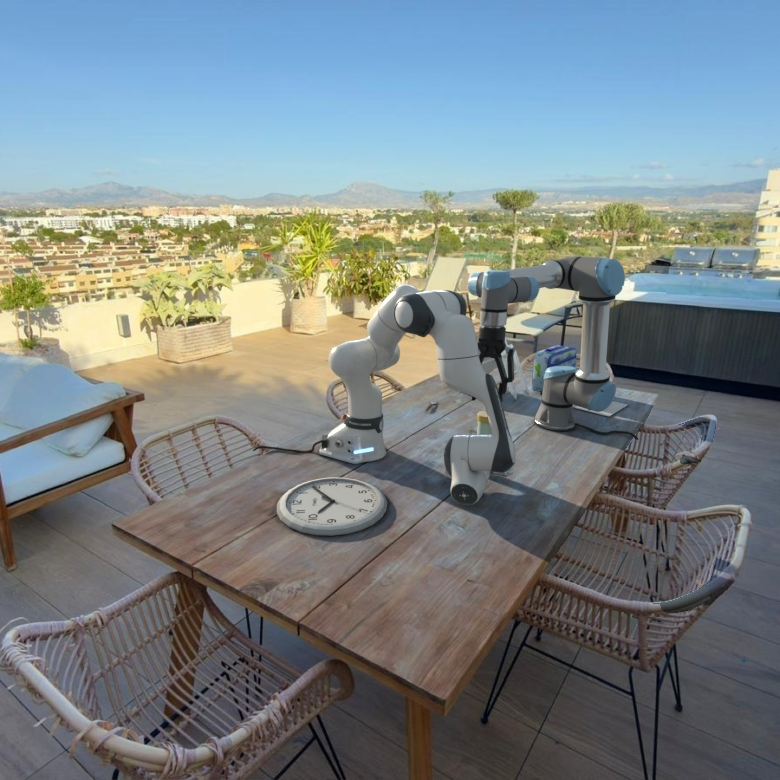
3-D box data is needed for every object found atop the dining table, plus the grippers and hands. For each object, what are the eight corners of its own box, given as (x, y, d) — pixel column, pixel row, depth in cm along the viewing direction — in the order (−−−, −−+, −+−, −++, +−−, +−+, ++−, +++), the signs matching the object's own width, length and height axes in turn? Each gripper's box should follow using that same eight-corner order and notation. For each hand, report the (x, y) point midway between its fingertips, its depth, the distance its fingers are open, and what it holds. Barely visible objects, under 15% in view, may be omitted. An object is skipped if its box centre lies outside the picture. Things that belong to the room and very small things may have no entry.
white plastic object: (461, 429, 252) (437, 405, 227) (444, 352, 274) (420, 323, 250) (535, 404, 240) (518, 377, 215) (510, 326, 262) (492, 293, 237)
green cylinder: (479, 476, 161) (483, 418, 155) (471, 470, 165) (475, 414, 159) (491, 474, 163) (496, 417, 157) (483, 468, 167) (488, 412, 161)
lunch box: (548, 398, 236) (553, 353, 229) (527, 393, 243) (531, 349, 237) (575, 387, 253) (581, 344, 247) (555, 382, 260) (560, 341, 254)
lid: (483, 424, 155) (483, 418, 155) (473, 418, 160) (474, 412, 159) (497, 421, 157) (498, 415, 157) (487, 416, 162) (488, 410, 161)
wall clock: (392, 527, 129) (268, 531, 127) (391, 533, 130) (269, 537, 127) (383, 473, 158) (282, 475, 155) (383, 478, 158) (282, 480, 156)
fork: (422, 411, 216) (422, 407, 215) (433, 400, 230) (433, 396, 230) (428, 412, 215) (429, 407, 215) (438, 401, 230) (439, 396, 229)
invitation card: (608, 416, 214) (573, 407, 224) (608, 416, 214) (573, 408, 224) (628, 404, 229) (594, 396, 238) (628, 405, 229) (594, 397, 238)
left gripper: (512, 466, 146) (518, 447, 158) (441, 454, 152) (452, 437, 165) (511, 486, 148) (516, 466, 160) (440, 474, 154) (451, 456, 167)
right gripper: (530, 327, 149) (523, 403, 156) (463, 320, 157) (459, 393, 164) (525, 331, 142) (517, 410, 149) (455, 324, 151) (451, 399, 158)
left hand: (483, 451), depth 163 cm, fingers closed on green cylinder, 4 cm apart
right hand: (486, 401), depth 157 cm, fingers open, 7 cm apart
